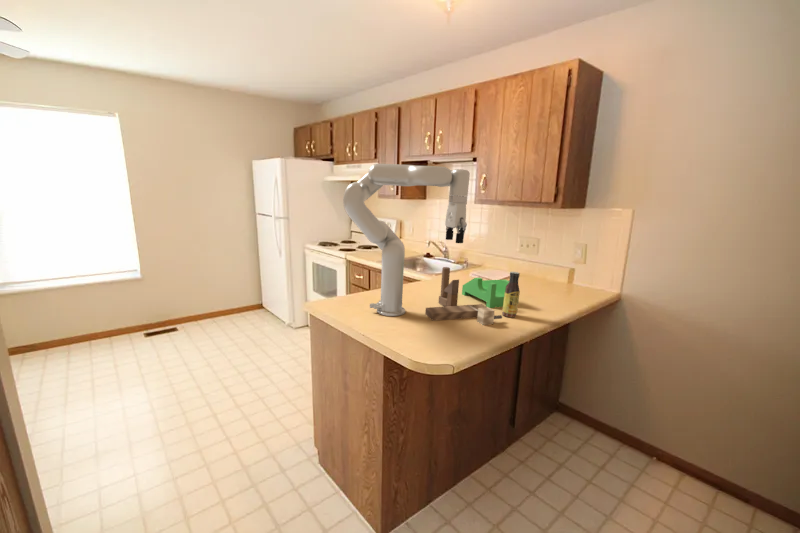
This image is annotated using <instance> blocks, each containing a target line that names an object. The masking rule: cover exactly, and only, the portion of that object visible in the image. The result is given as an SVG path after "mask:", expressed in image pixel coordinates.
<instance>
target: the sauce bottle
mask: <svg viewBox="0 0 800 533" xmlns="http://www.w3.org/2000/svg"><path fill="white" fill-rule="evenodd" d="M520 274H521V273H520V272H518V271H510V272H509V280H508V281H509V283H508V284H507V286H506V289H505V295H504V302H503V307H502V309H501V310H502V314H501V315H502V316H503V317H504V316H505V317H506V318H515V317H517V312H518V308H519V300H520V292H521V291H520V288H519V287H520V286H519V278H520Z"/></svg>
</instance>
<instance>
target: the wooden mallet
mask: <svg viewBox="0 0 800 533" xmlns="http://www.w3.org/2000/svg"><path fill="white" fill-rule="evenodd" d="M441 270H442V271H441V284H440V285H441V286H440V295H439V296H438V304H440V305H442V307H445V306H458V300H459V299H458V297H459V288H460V287H459V286H460V279H452V280H451V281H450V273H451V268H450V267H448V266H443V267H442V269H441Z"/></svg>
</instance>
